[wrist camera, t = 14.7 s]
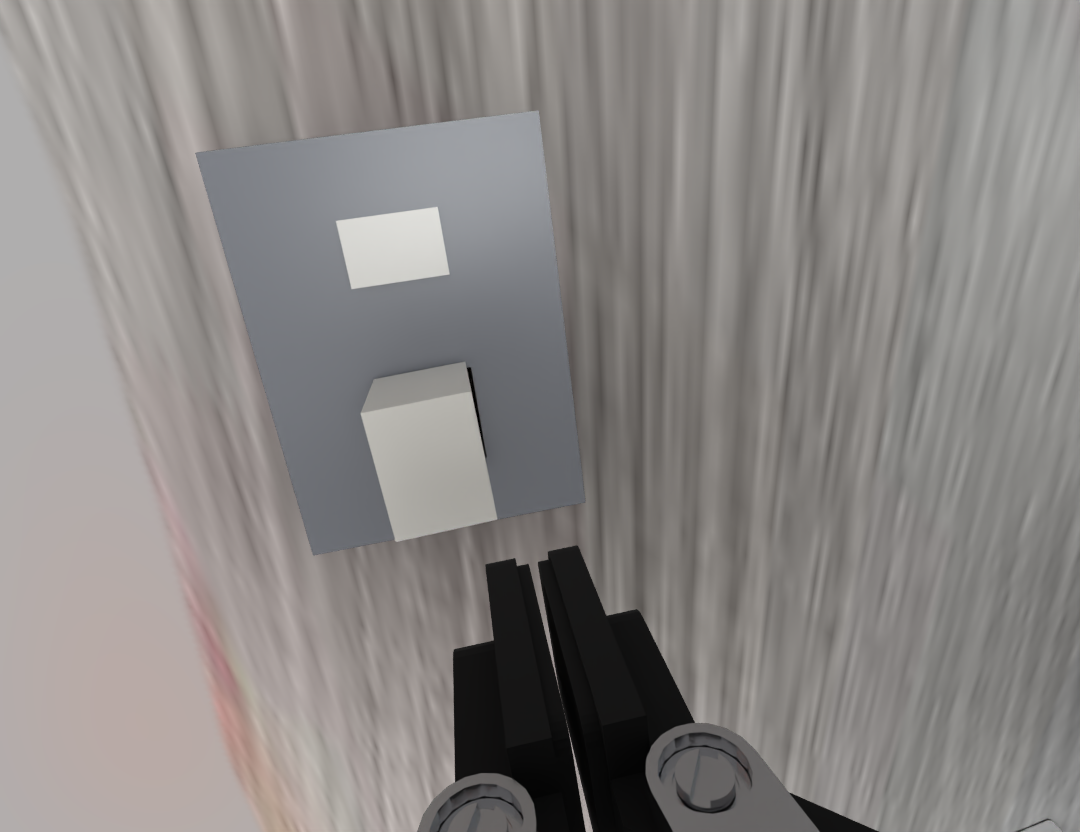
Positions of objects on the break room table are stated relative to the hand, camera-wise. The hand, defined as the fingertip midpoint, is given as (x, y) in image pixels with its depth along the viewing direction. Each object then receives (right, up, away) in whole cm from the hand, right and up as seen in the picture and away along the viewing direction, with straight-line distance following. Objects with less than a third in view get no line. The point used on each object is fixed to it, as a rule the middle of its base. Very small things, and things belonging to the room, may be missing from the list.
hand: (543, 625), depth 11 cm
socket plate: (-5, +7, +16) cm, 18 cm away
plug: (-5, +4, +17) cm, 18 cm away
